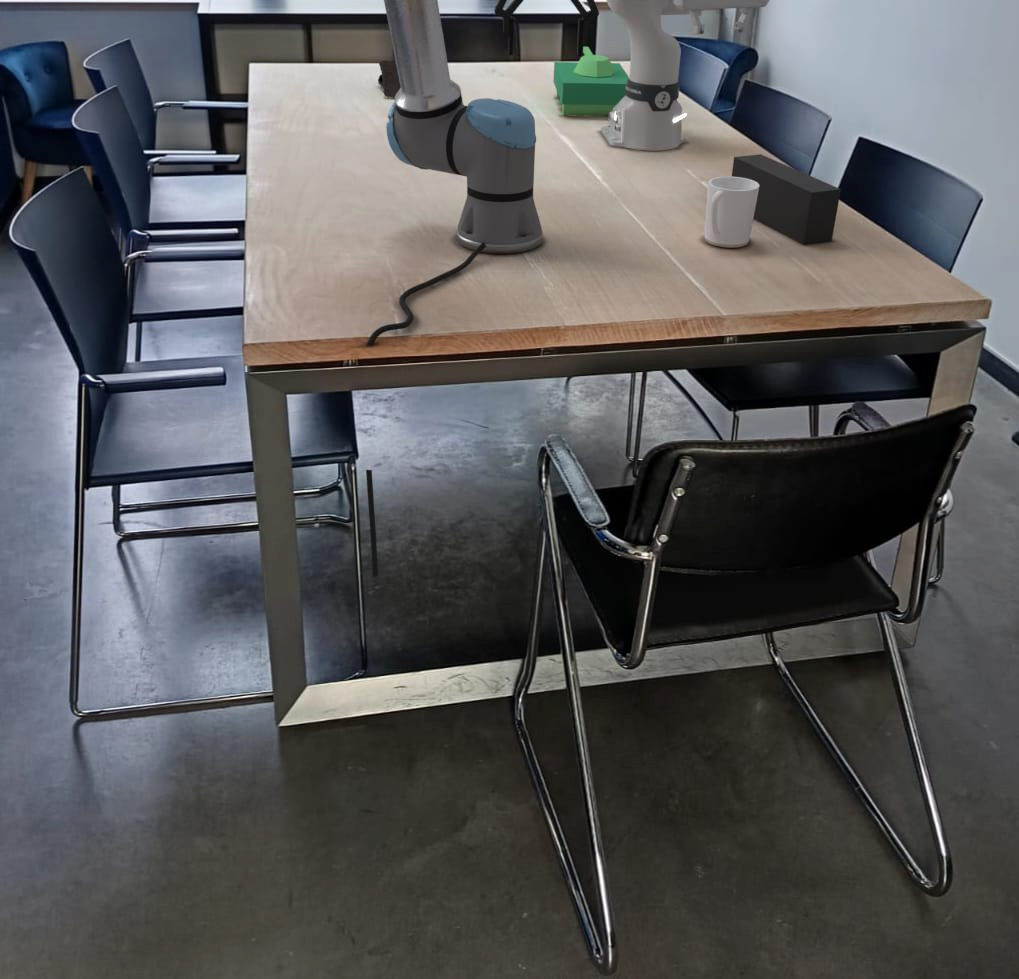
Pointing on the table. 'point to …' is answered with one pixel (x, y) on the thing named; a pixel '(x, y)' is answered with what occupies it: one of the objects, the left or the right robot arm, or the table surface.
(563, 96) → the toy tank
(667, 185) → the table surface
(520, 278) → the table surface
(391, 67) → the axe head
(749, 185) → the mug
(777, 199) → the box
